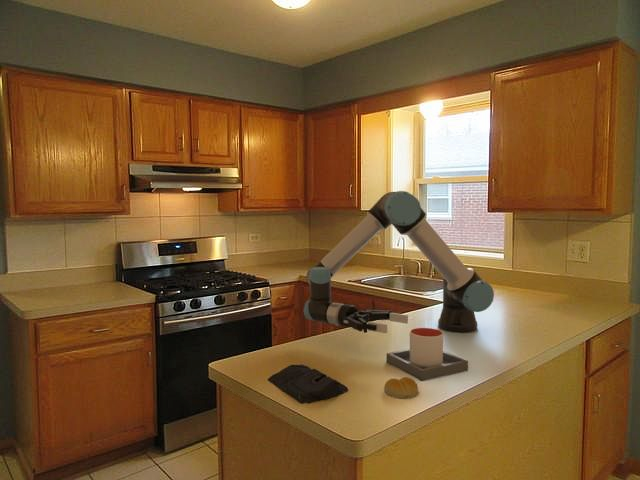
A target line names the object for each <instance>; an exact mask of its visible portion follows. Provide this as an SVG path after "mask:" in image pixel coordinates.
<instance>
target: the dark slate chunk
mask: <svg viewBox="0 0 640 480" xmlns="http://www.w3.org/2000/svg"><path fill="white" fill-rule="evenodd" d="M267 381H268V382H269V383H270V384H273V385H274V386H275V387H276V388H278V389H279V390H280V391H281V392H283V393H285V394H286V395H287V396H289V397H290V398H292V399H293V400H295V401H296V402H298V404H308V405H310V404H313V403H317V402H319V401H327V400H331V399H333V398H337V397H339V396H340V395H343V394H345V393H346V392H348V391H349V389H348V387H347V386H346V385H345V384H343V383H341V382H340V381H338V380H337V379H334V378H332V377H330V376H328V375H327V374H325V373H323V372H321V371H320V370H318V369H316V368H311V367H310V366H307V365H305V364H302V363H301V364H290V365H288V366H286V367H284V368H282V369H281V370H280V371H278V372H276V373H273V374H272V375H271V376H269V377H268V378H267Z"/></svg>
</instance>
